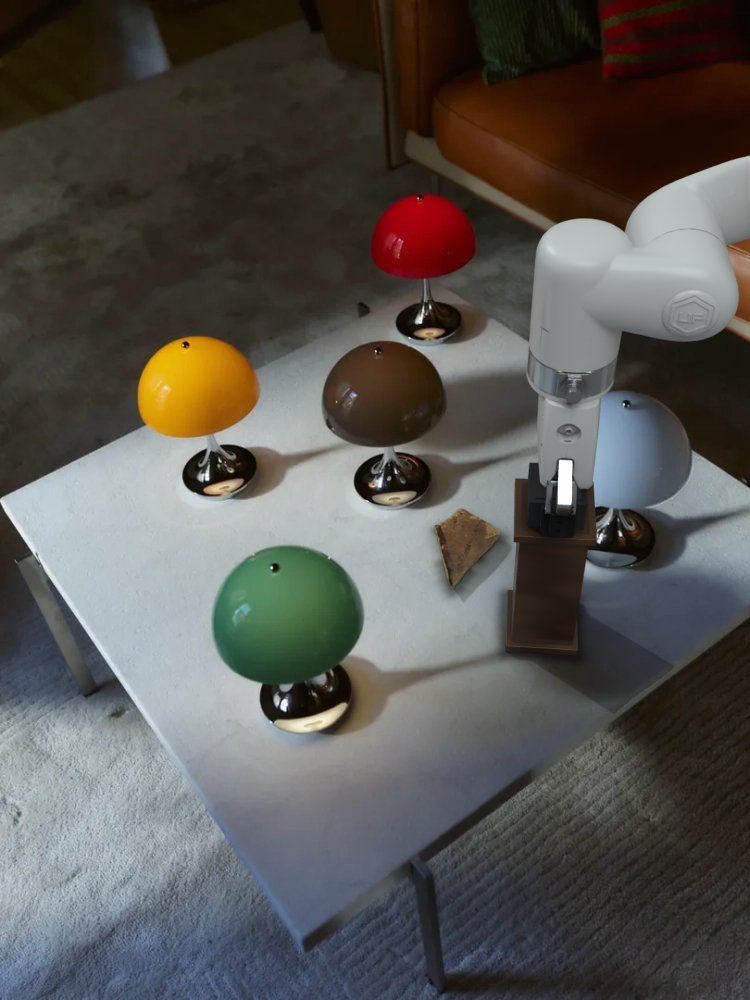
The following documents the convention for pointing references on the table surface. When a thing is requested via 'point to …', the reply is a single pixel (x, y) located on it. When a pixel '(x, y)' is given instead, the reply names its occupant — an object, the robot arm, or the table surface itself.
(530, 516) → the dark grey block
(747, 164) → the robot arm
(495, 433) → the table surface
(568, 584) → the pedestal
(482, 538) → the shard
